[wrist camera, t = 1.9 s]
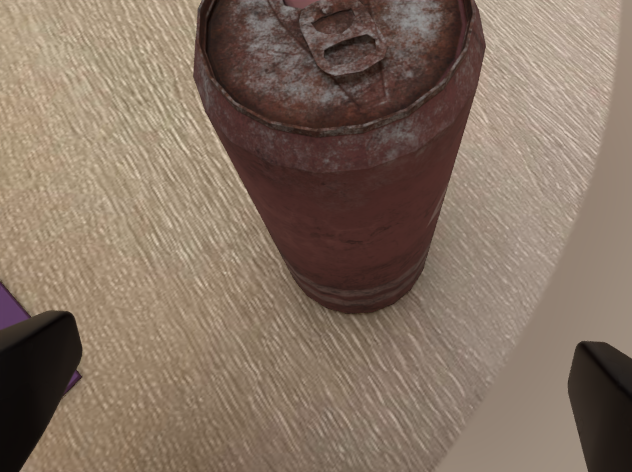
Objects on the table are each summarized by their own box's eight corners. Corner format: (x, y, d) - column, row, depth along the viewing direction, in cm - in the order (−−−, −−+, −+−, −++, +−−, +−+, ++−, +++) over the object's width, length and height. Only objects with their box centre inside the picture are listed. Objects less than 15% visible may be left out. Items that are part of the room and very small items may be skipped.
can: (332, 162, 24) (284, -143, 12) (451, 228, 23) (553, -45, 10) (256, 264, 23) (104, 47, 10) (377, 344, 21) (381, 205, 8)
